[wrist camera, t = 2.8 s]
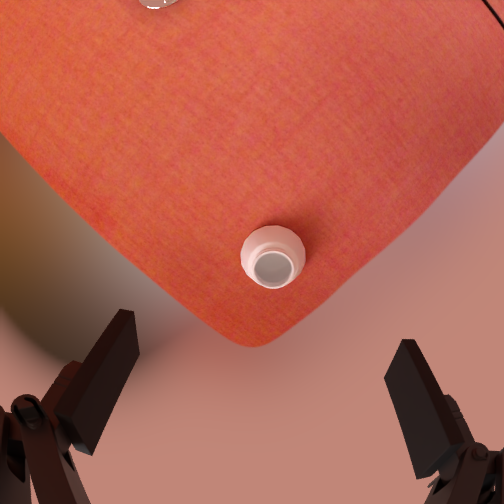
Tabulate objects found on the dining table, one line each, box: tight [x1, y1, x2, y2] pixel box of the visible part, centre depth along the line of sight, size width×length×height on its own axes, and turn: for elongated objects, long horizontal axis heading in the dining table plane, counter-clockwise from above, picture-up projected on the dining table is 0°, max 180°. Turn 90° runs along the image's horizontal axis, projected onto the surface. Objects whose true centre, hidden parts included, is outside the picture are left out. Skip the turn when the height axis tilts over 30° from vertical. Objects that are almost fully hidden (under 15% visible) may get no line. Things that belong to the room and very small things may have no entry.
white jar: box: [240, 225, 306, 289], centre depth 23 cm, size 5×3×5 cm
